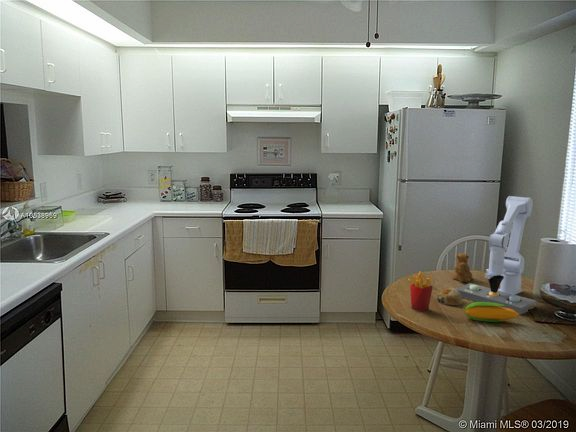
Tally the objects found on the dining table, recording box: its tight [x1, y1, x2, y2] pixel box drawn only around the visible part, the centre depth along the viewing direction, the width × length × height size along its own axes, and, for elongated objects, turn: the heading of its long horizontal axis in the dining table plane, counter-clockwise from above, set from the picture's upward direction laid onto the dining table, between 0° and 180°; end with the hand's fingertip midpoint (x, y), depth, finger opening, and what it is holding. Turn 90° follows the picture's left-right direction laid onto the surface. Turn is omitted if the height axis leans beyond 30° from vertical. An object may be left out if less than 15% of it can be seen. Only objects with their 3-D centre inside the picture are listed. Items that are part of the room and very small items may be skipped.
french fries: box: [407, 271, 434, 312], centre depth 194 cm, size 9×8×15 cm
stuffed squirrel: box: [450, 252, 473, 284], centre depth 234 cm, size 10×14×13 cm
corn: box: [463, 301, 520, 323], centre depth 183 cm, size 7×8×20 cm
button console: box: [453, 282, 538, 316], centre depth 205 cm, size 14×30×3 cm, turn 39°
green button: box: [469, 284, 480, 292], centre depth 212 cm, size 4×4×3 cm
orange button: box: [489, 292, 499, 297], centre depth 205 cm, size 4×4×3 cm
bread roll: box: [436, 287, 463, 306], centre depth 203 cm, size 10×10×8 cm
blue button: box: [509, 294, 520, 303], centre depth 198 cm, size 4×4×3 cm
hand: (494, 291), depth 205 cm, fingers closed
